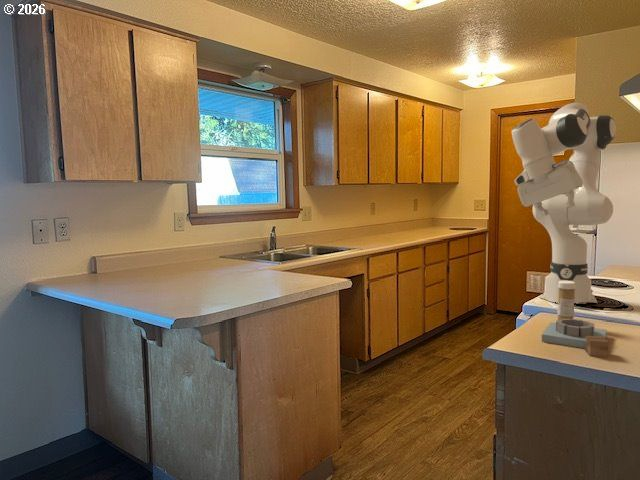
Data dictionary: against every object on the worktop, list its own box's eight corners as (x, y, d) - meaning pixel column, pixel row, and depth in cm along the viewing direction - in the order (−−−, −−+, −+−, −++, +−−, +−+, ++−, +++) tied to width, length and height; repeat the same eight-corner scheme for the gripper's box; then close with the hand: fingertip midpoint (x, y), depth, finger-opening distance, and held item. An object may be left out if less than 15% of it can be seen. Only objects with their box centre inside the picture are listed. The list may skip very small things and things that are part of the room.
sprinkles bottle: (559, 322, 143) (561, 279, 142) (575, 325, 140) (577, 281, 139) (554, 325, 140) (556, 281, 139) (571, 328, 137) (573, 283, 136)
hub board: (550, 328, 137) (551, 313, 137) (606, 336, 129) (607, 320, 128) (541, 341, 126) (542, 325, 125) (602, 351, 118) (602, 333, 117)
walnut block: (585, 351, 118) (585, 335, 118) (602, 352, 117) (603, 336, 117) (589, 356, 114) (590, 340, 114) (607, 357, 113) (608, 341, 113)
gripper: (576, 155, 136) (595, 199, 135) (522, 178, 155) (538, 217, 154) (563, 159, 134) (582, 204, 133) (510, 182, 152) (526, 222, 151)
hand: (558, 211), depth 143 cm, fingers open, 8 cm apart
